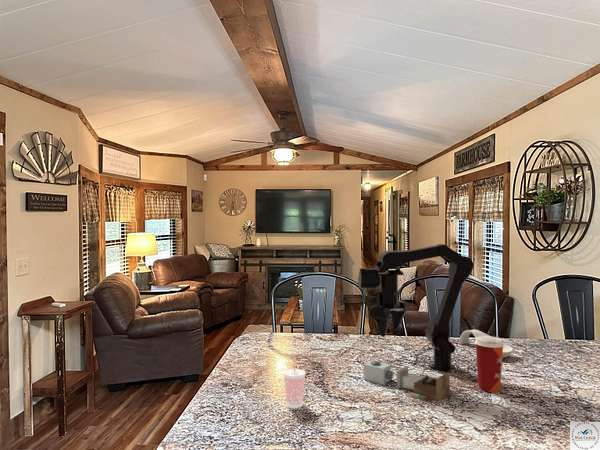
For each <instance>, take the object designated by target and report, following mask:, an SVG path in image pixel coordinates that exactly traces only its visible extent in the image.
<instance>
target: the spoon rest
mask: <svg viewBox="0 0 600 450" xmlns="http://www.w3.org/2000/svg"><path fill="white" fill-rule="evenodd" d="M471 334H472V335H473V336H474V338H475V340H476V338H477V337H479V336H490V335H489V334H488V333H485V332H482V331H480V330H478V329H467V330H464V331H463V332H462V333H461V334H460V337H459V340H458V344H459V345H465V344H466V345H467V344H469V343H470V335H471ZM503 343H504V342H503ZM513 352H514V349H513V347H512V346H511V345H509V344H507V343H506V342H505V343H504V346H503V355H502V359H504V358H507V357H509V356H510V355H512V353H513Z"/></svg>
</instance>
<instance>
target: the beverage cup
mask: <svg viewBox="0 0 600 450" xmlns="http://www.w3.org/2000/svg"><path fill="white" fill-rule="evenodd" d="M283 377H284V389H285V393H284V394H285V407H287V408H289V409H299V408H301V407H303V405H304V393H305V392H304V390H305V378H306V371H305V370H304V369H302V368H301V369H300V368H296V354H295V353H293V368H289V369H286V370H284V371H283Z"/></svg>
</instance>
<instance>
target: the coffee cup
mask: <svg viewBox="0 0 600 450" xmlns="http://www.w3.org/2000/svg"><path fill="white" fill-rule="evenodd" d="M474 344H475V353H476V355H475V356H476V369H477V373H476V374H477V383H478V386H477V387H478V389H479V388H480V389H479V390H481V391H483V392H486V391H487V393H498V391H499V392H500V391H501V385H502V384H501V381H502V369H503V367H502V366H503V358H502V355H503V346H504V341H503V339H502V338H500V337H497V336H491V335H489V336H479V337H477V338H476V339H475V341H474Z"/></svg>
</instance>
